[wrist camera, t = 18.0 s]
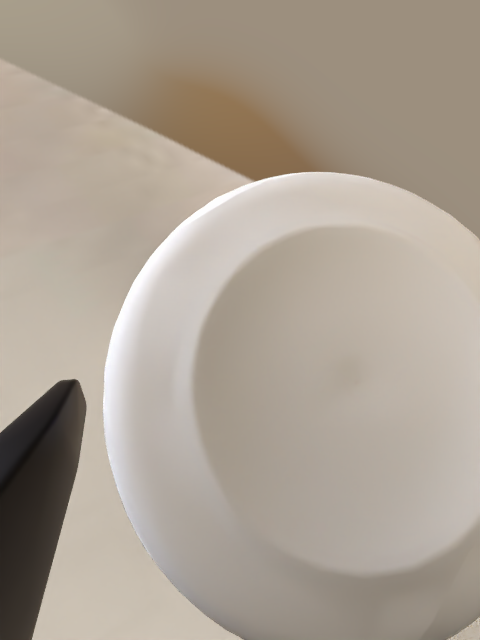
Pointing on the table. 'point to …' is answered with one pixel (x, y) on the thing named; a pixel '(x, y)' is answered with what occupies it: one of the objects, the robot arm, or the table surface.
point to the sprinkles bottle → (306, 411)
